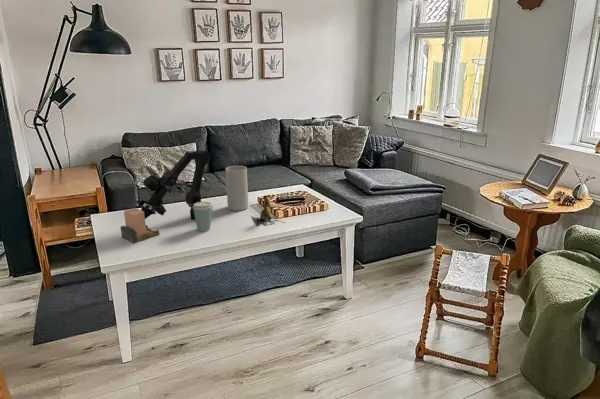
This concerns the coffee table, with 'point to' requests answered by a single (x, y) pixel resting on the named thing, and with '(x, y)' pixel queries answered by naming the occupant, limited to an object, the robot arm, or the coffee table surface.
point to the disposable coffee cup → (203, 215)
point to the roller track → (140, 238)
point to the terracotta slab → (135, 221)
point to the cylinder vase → (237, 188)
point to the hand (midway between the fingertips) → (141, 220)
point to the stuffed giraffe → (265, 214)
